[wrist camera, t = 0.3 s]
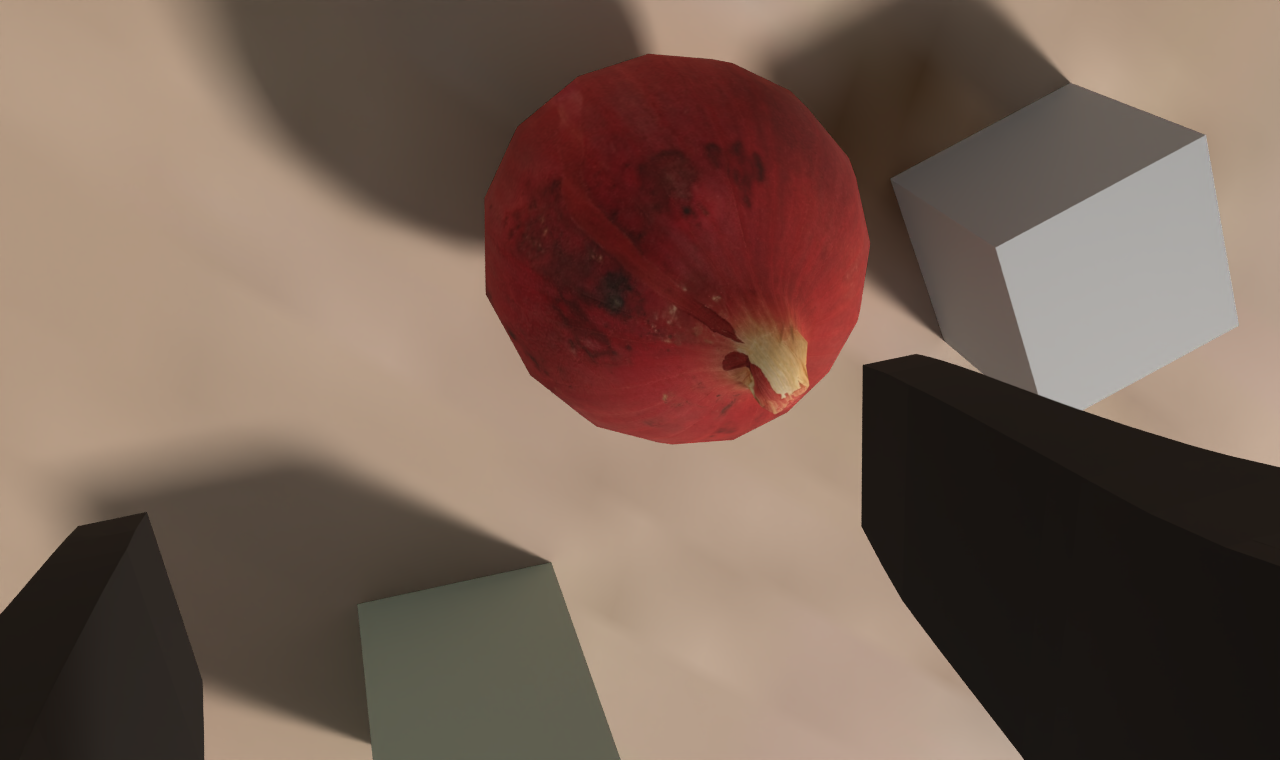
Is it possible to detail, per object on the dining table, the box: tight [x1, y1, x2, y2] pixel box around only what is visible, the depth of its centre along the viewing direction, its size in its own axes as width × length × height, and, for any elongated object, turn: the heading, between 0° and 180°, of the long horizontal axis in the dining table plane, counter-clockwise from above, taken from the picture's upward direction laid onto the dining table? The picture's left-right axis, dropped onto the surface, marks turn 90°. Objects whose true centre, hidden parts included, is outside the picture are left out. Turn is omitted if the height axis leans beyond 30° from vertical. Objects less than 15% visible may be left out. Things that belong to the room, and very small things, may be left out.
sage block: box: [357, 562, 620, 760], centre depth 23 cm, size 4×4×6 cm
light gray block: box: [890, 83, 1239, 410], centre depth 23 cm, size 4×4×4 cm
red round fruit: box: [484, 54, 870, 444], centre depth 18 cm, size 6×6×8 cm
